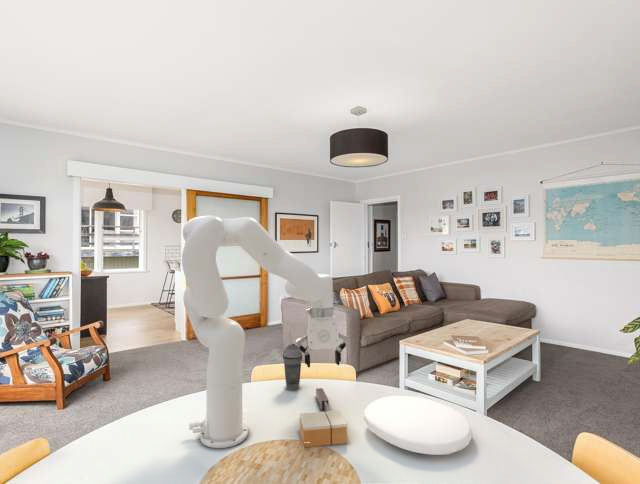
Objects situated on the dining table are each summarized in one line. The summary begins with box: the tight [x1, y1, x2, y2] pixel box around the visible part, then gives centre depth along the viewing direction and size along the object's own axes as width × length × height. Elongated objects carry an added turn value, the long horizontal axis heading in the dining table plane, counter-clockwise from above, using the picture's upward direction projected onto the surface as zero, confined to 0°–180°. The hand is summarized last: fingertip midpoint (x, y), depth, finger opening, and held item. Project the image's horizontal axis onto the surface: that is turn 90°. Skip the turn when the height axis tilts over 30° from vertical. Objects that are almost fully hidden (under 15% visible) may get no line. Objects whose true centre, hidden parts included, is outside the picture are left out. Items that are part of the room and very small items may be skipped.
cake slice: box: [325, 410, 348, 445], centre depth 100 cm, size 4×8×5 cm, turn 9°
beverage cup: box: [282, 331, 304, 391], centre depth 133 cm, size 7×7×20 cm
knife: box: [315, 387, 331, 413], centre depth 116 cm, size 2×19×3 cm, turn 9°
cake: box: [299, 411, 332, 448], centre depth 99 cm, size 7×8×5 cm
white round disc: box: [363, 395, 473, 456], centre depth 101 cm, size 28×6×27 cm
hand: (322, 364), depth 120 cm, fingers open, 9 cm apart
